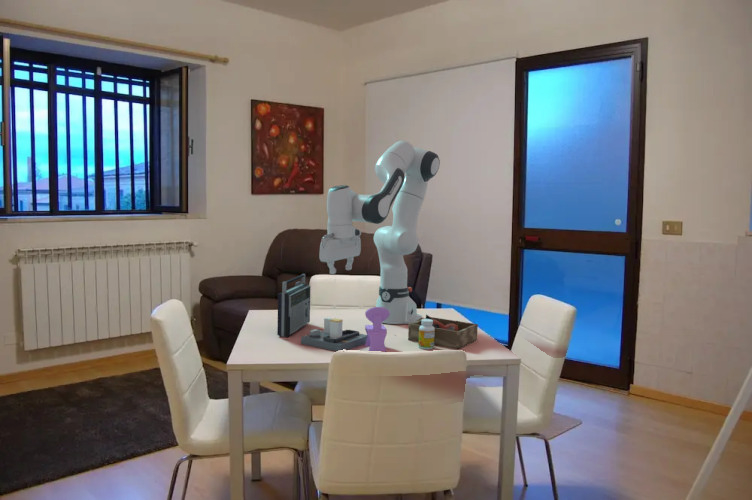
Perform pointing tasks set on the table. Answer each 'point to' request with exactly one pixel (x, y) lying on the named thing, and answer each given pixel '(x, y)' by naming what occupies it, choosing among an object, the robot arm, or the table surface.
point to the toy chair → (376, 328)
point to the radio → (293, 307)
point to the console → (325, 342)
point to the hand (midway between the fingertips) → (340, 271)
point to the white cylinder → (335, 328)
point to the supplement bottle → (426, 334)
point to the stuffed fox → (440, 325)
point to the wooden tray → (447, 333)
